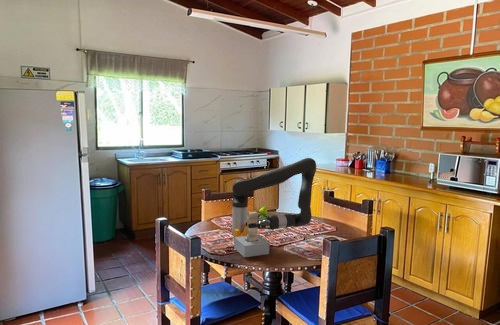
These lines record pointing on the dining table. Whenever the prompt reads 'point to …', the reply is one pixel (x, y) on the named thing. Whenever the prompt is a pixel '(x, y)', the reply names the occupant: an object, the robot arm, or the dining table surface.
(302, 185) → the robot arm
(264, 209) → the fruit basket
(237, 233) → the pipe clamp
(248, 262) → the dining table surface
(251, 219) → the wooden bar
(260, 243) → the grey square socket block
